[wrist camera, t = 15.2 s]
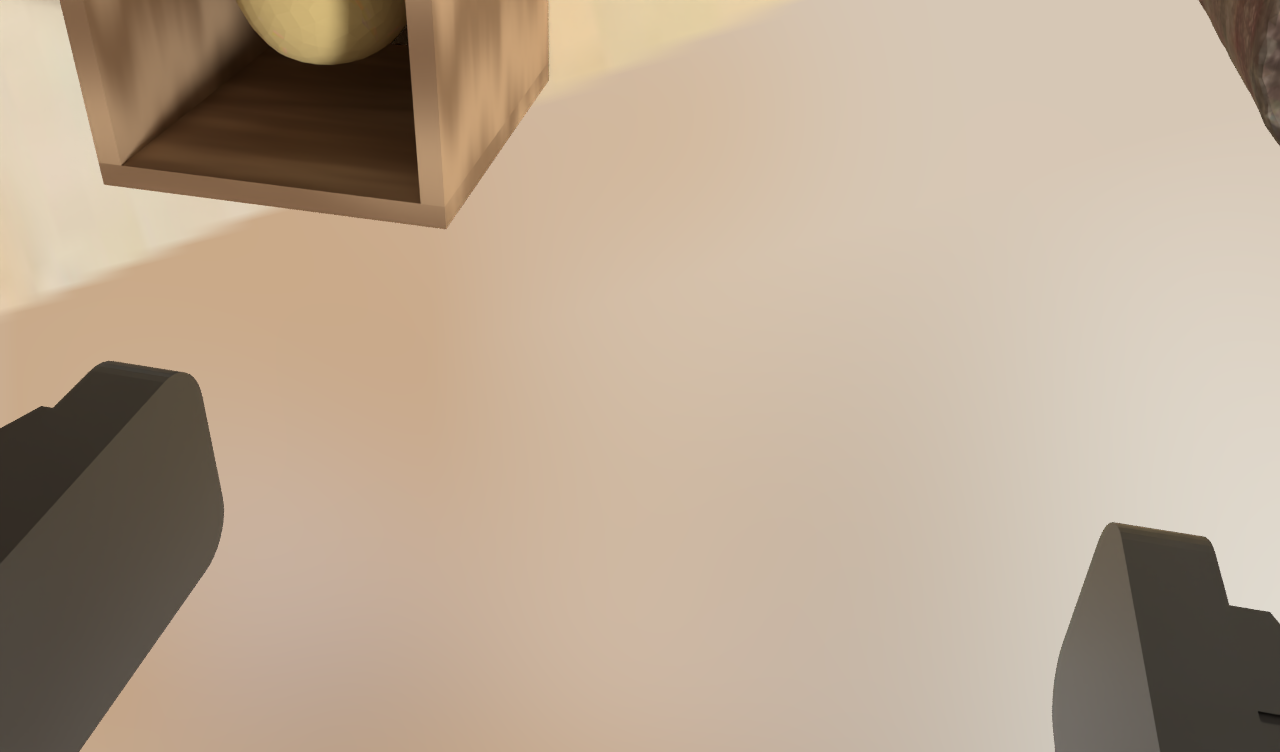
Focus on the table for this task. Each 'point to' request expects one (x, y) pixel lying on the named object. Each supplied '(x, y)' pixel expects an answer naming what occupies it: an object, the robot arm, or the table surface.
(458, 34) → the box
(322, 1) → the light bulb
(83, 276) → the table surface
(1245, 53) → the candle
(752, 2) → the table surface
